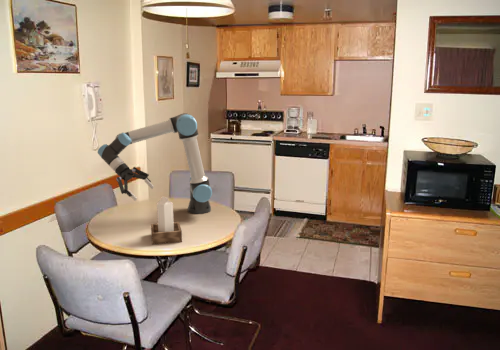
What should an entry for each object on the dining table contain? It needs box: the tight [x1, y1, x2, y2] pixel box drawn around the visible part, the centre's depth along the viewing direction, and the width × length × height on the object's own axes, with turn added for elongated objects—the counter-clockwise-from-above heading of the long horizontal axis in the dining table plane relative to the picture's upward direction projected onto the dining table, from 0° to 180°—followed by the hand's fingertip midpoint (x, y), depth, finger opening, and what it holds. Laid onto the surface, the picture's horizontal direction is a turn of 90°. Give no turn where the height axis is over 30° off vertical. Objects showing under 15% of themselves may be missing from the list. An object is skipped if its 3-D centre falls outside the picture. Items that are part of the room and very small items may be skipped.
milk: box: [156, 196, 174, 232], centre depth 226 cm, size 6×6×22 cm
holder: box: [150, 221, 183, 245], centre depth 228 cm, size 15×15×6 cm
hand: (144, 193), depth 242 cm, fingers open, 13 cm apart
